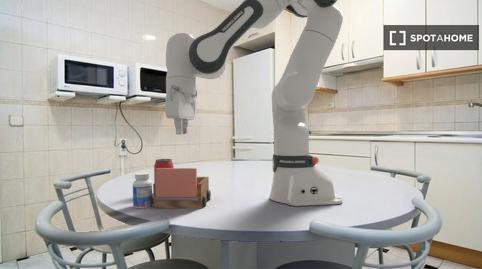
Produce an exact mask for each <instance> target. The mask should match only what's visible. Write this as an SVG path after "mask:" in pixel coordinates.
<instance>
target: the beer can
mask: <svg viewBox="0 0 482 269" xmlns="http://www.w3.org/2000/svg"><path fill="white" fill-rule="evenodd" d="M156 168H174V163H173V159H172V158H160V159H159V158H157V159H155V162H154V165H153V176H154V177H153V178H154V179H153V181H154V182H153V184H154V183H156V177H155V169H156Z"/></svg>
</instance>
